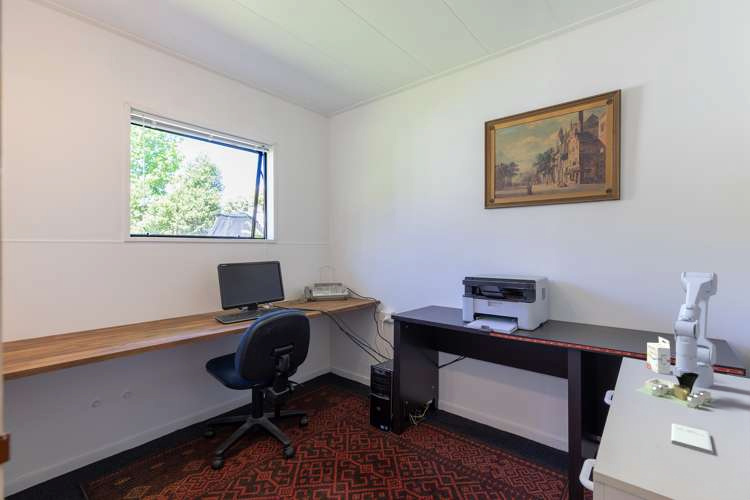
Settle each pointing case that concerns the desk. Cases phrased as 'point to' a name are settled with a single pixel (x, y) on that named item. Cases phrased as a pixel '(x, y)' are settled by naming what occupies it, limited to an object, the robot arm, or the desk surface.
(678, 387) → the nut
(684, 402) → the mat
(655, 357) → the ink cartridge box
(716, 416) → the desk surface
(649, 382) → the tray
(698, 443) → the external hard drive
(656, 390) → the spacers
